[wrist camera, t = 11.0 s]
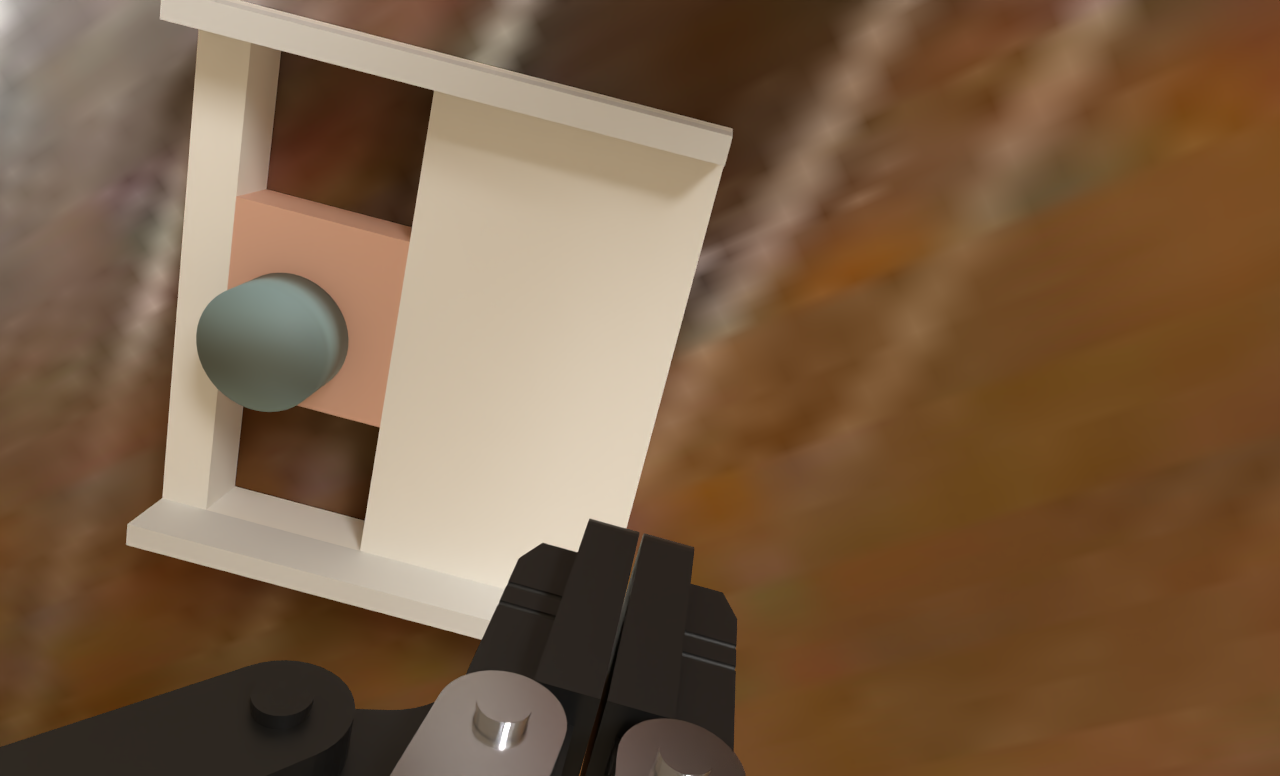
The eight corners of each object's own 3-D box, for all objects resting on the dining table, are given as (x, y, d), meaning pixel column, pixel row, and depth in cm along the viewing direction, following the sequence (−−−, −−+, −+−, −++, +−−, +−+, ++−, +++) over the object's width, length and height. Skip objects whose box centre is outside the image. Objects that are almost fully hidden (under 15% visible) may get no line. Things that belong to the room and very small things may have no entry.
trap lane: (235, -1, 36) (162, -12, 32) (732, 128, 36) (732, 136, 31) (191, 494, 44) (126, 544, 39) (605, 604, 43) (589, 668, 39)
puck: (233, 260, 37) (199, 272, 35) (354, 288, 37) (329, 302, 35) (225, 376, 39) (192, 395, 36) (342, 403, 39) (316, 424, 36)
